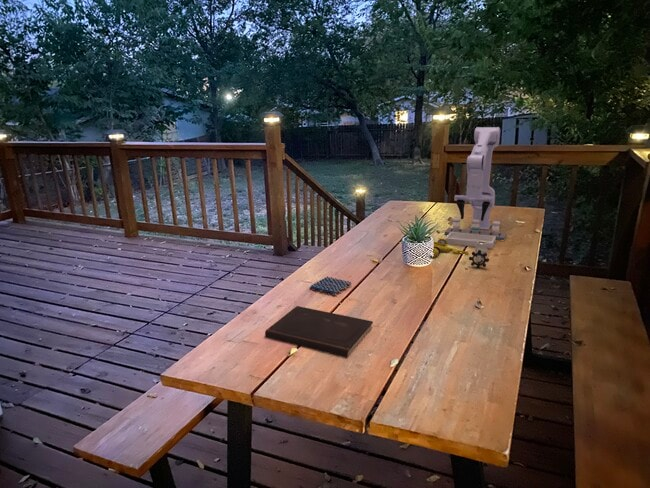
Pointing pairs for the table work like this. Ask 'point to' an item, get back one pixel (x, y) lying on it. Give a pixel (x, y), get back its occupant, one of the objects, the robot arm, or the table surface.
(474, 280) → the table surface
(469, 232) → the holder
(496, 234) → the cylinder
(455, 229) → the cartridge
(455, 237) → the tray
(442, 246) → the sprinkler
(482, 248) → the valve
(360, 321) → the hardcover book
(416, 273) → the table surface
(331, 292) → the woven mat
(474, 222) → the marked cartridge
